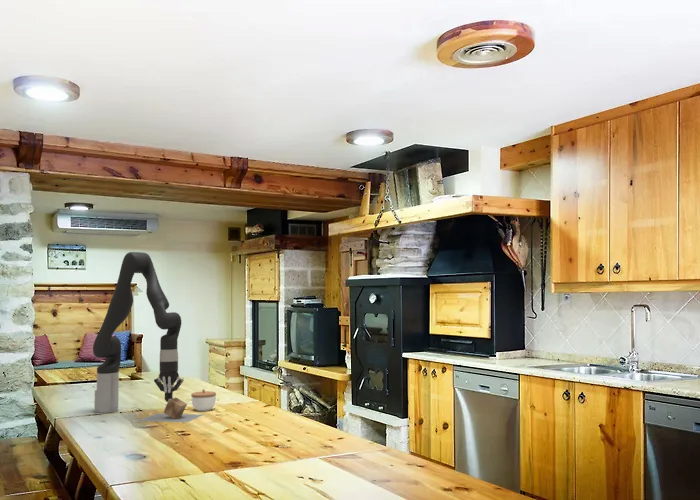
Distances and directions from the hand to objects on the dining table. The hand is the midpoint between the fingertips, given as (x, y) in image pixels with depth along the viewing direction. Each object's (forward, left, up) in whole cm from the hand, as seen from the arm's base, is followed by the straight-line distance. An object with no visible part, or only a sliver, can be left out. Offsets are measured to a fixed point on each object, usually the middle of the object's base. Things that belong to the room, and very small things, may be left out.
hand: (168, 401), depth 276 cm
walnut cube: (0, 0, -1) cm, 1 cm away
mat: (+1, 0, -7) cm, 7 cm away
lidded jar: (+7, +19, -7) cm, 22 cm away
